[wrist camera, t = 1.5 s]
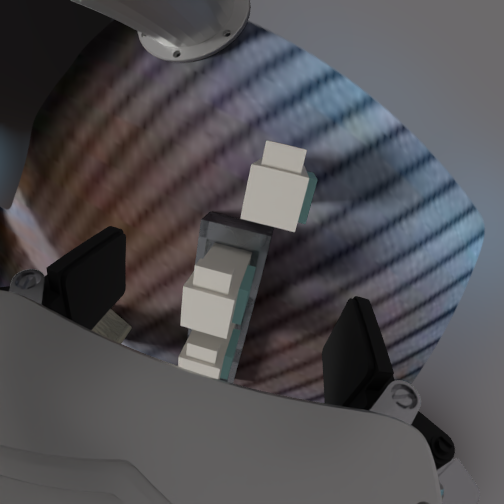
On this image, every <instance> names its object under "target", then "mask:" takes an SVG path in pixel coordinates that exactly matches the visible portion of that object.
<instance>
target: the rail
mask: <svg viewBox="0 0 504 504" xmlns="http://www.w3.org/2000/svg"><path fill="white" fill-rule="evenodd" d="M273 228H274V227H272V226H268V225H264V224H260V223H256V222H252V221H248V220H244V219H240V218H235V217H231V216H227V215H223V214H218V213H214V212H209V213H208V214H207V215H206V216H205V217H204V218H202V219H201V225H200V232H199V239H198V247H197V255H196V262H195V264H196V263H197V262H198V260H199V259H203V258H204V257H205V255H206V254H207V253H208V251H209V250H210V248H211V247H212V246H213V244H214V243H218V244H222V245H226V246H230V247H234V248H238V249H242V250H246V251H250V252H252V256H251V260H250V266H254V267H256V270H255V274H254V278H253V282H252V286H251V290H250V295H249V299H248V302H247V305H246V309H245V312H244V316H243V319H242V322H241V325H239V324H236V326H235V329H238V330H241V331H240V335H239V339H238V343H237V347H236V351H235V355H234V358H233V362H232V365H231V369H230V372H229V376H228V379H227V380H226V379H223V378H220V379H219V380H223V381H226V382H230V383H233V381H234V378H235V374H236V370H237V367H238V363H239V359H240V356H241V352H242V348H243V344H244V341H245V337H246V333H247V330H248V326H249V322H250V318H251V315H252V311H253V307H254V303H255V299H256V295H257V292H258V288H259V284H260V280H261V276H262V272H263V268H264V265H265V261H266V257H267V253H268V249H269V245H270V241H271V237H272V233H273ZM191 331H192V329H190V328H188V337H189V335H190V333H191Z"/></svg>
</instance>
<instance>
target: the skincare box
mask: <svg viewBox="0 0 504 504" xmlns="http://www.w3.org/2000/svg"><path fill="white" fill-rule="evenodd" d="M131 329H132V327H131V326H130V325H129V324H128V323H126V322H125V321H124V320H123V319H122V318H121V317H119V316H118V315H117V314H116V313H115V312H114V311H113V310H111V309H110V310H109V311H108V312H107V313H106V314H105V315H104V317H103V318H102V319H101V320H100V321H99V322H98V323H97V324H96V326H95V327H94V328H93V329H92V330H91V331H94V332H96V333H98V334H100V335H102V336H104V337H106V338H108V339H111V340H113V341H115V342H117V343H120V344H121V343H122V342H123V340H124V339H125V337H126V336H127V335H128V333H129V332H130V330H131Z"/></svg>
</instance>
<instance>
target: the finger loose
mask: <svg viewBox="0 0 504 504" xmlns="http://www.w3.org/2000/svg"><path fill="white" fill-rule="evenodd" d="M306 151H307V150H305V149H301V148H297V147H293V146H289V145H285V144H281V143H277V142H272V141H266V145H265V149H264V154H263V158H261V159H259V160H258V161H256V162H254V163H253V164H252V165H251V169H250V174H249V179H248V183H247V188H246V193H245V198H244V203H243V208H242V213H241V217H240V219H244V220H248V221H252V222H256V223H260V224H264V225H268V226H272V227H276V228H280V229H284V230H288V231H292V232H295V230H296V226H297V223H298V222H299V223H303V224H306V220H307V217H308V213H309V210H310V206H311V202H312V199H313V195H314V191H315V188H316V184H317V178H316V176H315V175H314V173H312V172H308V171H306V168H305V166H303V164H304V160H305V156H306Z"/></svg>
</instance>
